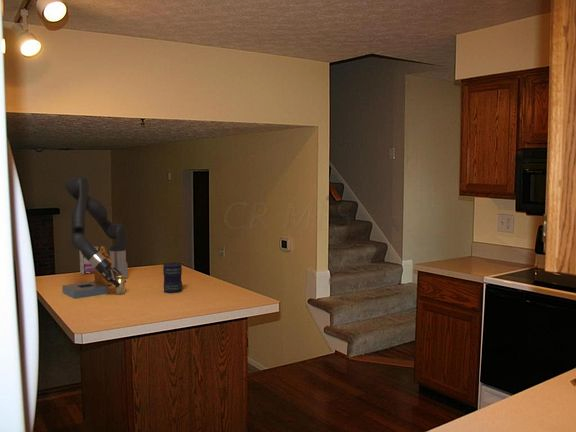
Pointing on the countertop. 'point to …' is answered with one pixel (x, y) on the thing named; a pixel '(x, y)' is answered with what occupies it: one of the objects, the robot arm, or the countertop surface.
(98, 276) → the coffee package
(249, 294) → the countertop surface
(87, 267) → the candy bar box
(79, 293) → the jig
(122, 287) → the brass mushroom peg
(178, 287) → the storage jar
